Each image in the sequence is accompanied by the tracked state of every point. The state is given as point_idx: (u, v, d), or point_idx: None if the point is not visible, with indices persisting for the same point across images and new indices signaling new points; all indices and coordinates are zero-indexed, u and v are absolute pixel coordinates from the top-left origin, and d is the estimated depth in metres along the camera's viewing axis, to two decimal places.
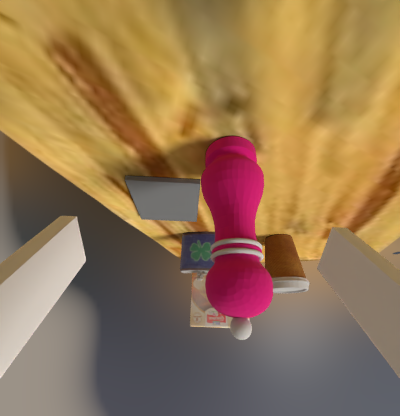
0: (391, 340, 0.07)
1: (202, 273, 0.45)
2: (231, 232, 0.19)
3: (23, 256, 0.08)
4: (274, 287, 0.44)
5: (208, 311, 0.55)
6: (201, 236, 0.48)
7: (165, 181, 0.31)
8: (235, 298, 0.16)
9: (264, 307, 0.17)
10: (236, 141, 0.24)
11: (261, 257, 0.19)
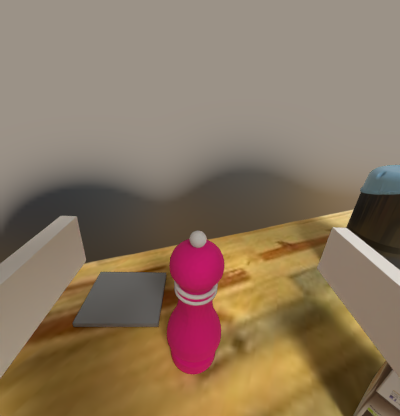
0: (391, 340, 0.07)
1: None
2: None
3: (23, 256, 0.08)
4: None
5: None
6: None
7: (162, 297, 0.37)
8: (219, 250, 0.23)
9: (212, 261, 0.21)
10: None
11: (206, 294, 0.22)
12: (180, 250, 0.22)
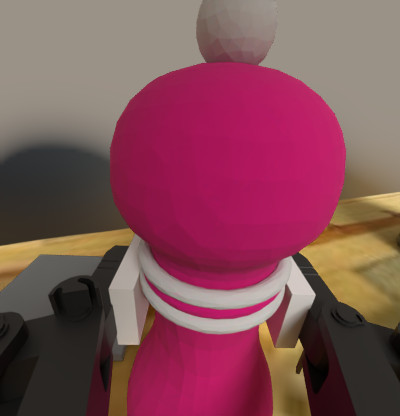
0: None
1: None
2: None
3: None
4: None
5: None
6: None
7: None
8: None
9: (320, 103, 0.04)
10: None
11: (263, 287, 0.05)
12: (154, 80, 0.05)
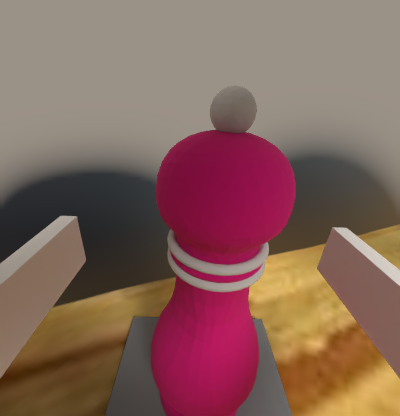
0: (391, 340, 0.07)
1: None
2: None
3: (23, 256, 0.07)
4: None
5: None
6: None
7: (282, 388, 0.16)
8: None
9: (277, 161, 0.07)
10: None
11: (248, 263, 0.09)
12: (185, 140, 0.08)
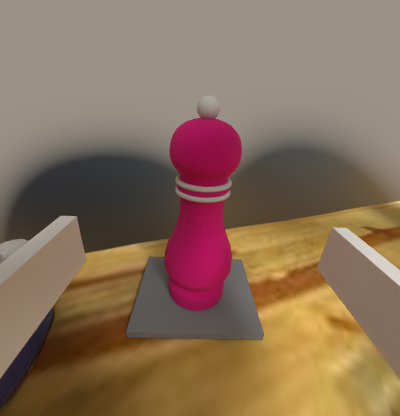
0: (391, 340, 0.07)
1: None
2: None
3: (23, 256, 0.08)
4: None
5: None
6: (36, 344, 0.18)
7: (250, 293, 0.25)
8: None
9: (228, 131, 0.15)
10: None
11: (218, 187, 0.17)
12: None
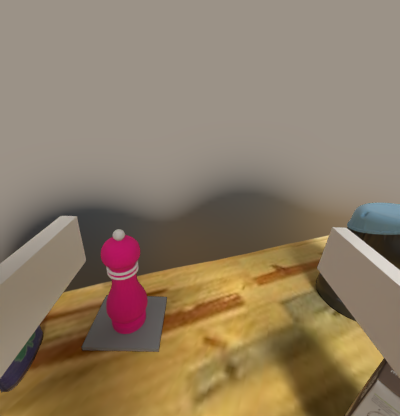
0: (391, 340, 0.07)
1: None
2: None
3: (23, 256, 0.08)
4: None
5: None
6: (32, 354, 0.34)
7: (162, 322, 0.41)
8: (137, 243, 0.34)
9: (125, 249, 0.32)
10: (145, 316, 0.40)
11: (125, 272, 0.33)
12: (107, 242, 0.33)
